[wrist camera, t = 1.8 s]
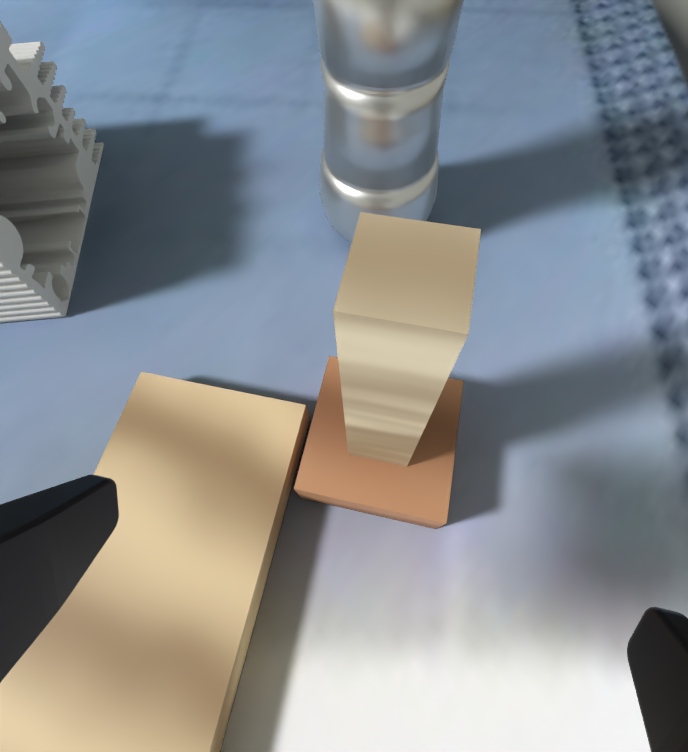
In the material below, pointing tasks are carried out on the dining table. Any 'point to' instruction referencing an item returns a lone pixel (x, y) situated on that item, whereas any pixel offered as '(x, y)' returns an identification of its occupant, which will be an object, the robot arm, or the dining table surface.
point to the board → (164, 579)
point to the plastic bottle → (382, 105)
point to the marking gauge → (394, 372)
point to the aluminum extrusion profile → (40, 185)
